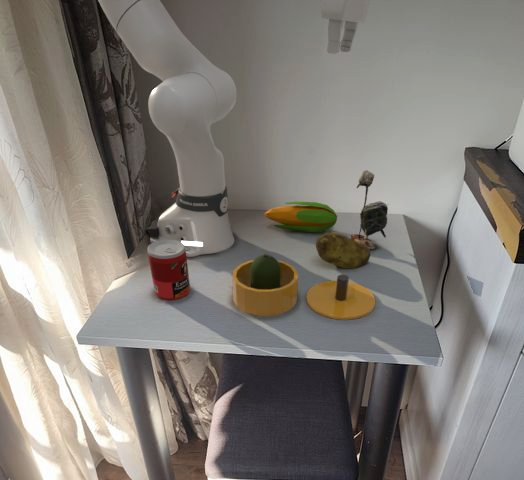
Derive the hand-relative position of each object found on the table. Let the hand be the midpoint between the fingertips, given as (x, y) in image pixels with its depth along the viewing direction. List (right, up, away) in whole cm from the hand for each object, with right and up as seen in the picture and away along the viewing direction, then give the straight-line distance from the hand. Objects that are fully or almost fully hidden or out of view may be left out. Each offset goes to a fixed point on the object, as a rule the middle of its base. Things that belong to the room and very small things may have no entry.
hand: (339, 52), depth 83 cm
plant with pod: (+12, -26, +38) cm, 48 cm away
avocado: (-13, -42, +17) cm, 47 cm away
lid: (+3, -43, +16) cm, 46 cm away
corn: (-3, -20, +46) cm, 50 cm away
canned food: (-34, -41, +20) cm, 57 cm away
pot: (-13, -42, +18) cm, 48 cm away
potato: (+5, -33, +30) cm, 45 cm away
